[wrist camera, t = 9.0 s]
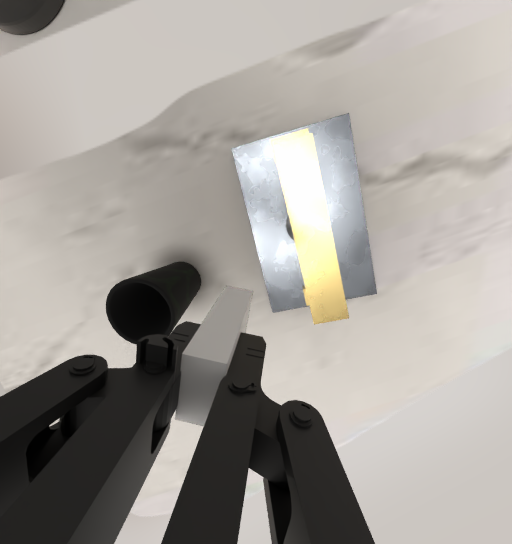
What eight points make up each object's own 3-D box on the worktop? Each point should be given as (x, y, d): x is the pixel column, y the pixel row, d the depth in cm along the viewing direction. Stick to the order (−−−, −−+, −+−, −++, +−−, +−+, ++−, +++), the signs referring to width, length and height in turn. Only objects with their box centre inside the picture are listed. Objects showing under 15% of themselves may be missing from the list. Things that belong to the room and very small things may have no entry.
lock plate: (233, 150, 35) (221, 141, 29) (346, 115, 32) (358, 98, 27) (273, 309, 40) (270, 328, 34) (374, 290, 37) (389, 308, 32)
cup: (206, 254, 39) (169, 279, 28) (210, 305, 41) (178, 347, 30) (154, 254, 40) (99, 278, 29) (161, 304, 42) (111, 345, 31)
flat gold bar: (309, 299, 32) (314, 324, 26) (276, 156, 29) (272, 145, 22) (337, 293, 32) (349, 318, 25) (307, 147, 28) (312, 133, 22)
